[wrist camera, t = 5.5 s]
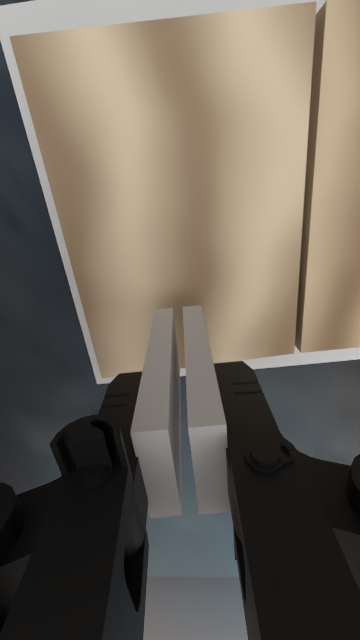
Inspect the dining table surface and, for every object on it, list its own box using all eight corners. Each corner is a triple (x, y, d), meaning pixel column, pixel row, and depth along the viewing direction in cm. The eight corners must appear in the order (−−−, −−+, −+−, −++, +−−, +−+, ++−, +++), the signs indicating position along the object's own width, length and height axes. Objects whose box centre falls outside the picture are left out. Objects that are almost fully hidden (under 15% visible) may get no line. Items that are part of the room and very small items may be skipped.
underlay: (98, 381, 21) (97, 384, 20) (-5, 11, 12) (-10, 6, 12) (451, 347, 20) (455, 350, 19) (590, -79, 11) (600, -86, 11)
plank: (106, 364, 19) (101, 378, 17) (27, 55, 12) (9, 36, 11) (283, 341, 19) (294, 353, 17) (298, 24, 12) (316, 1, 11)
